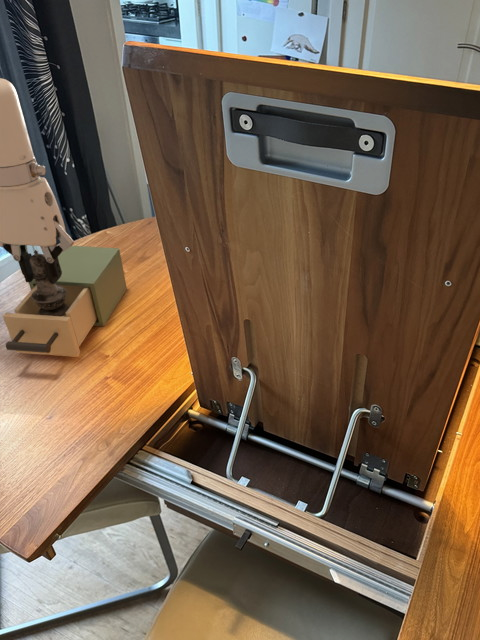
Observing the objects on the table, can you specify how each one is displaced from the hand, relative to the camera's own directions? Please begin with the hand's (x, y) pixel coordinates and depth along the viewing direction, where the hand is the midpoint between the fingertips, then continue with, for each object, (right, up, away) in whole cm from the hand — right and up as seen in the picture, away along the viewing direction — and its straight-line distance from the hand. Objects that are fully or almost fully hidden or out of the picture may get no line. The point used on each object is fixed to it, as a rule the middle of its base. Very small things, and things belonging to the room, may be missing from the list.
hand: (43, 278), depth 90 cm
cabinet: (+1, -2, +18) cm, 18 cm away
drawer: (0, -10, +6) cm, 12 cm away
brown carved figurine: (0, -5, +4) cm, 7 cm away
